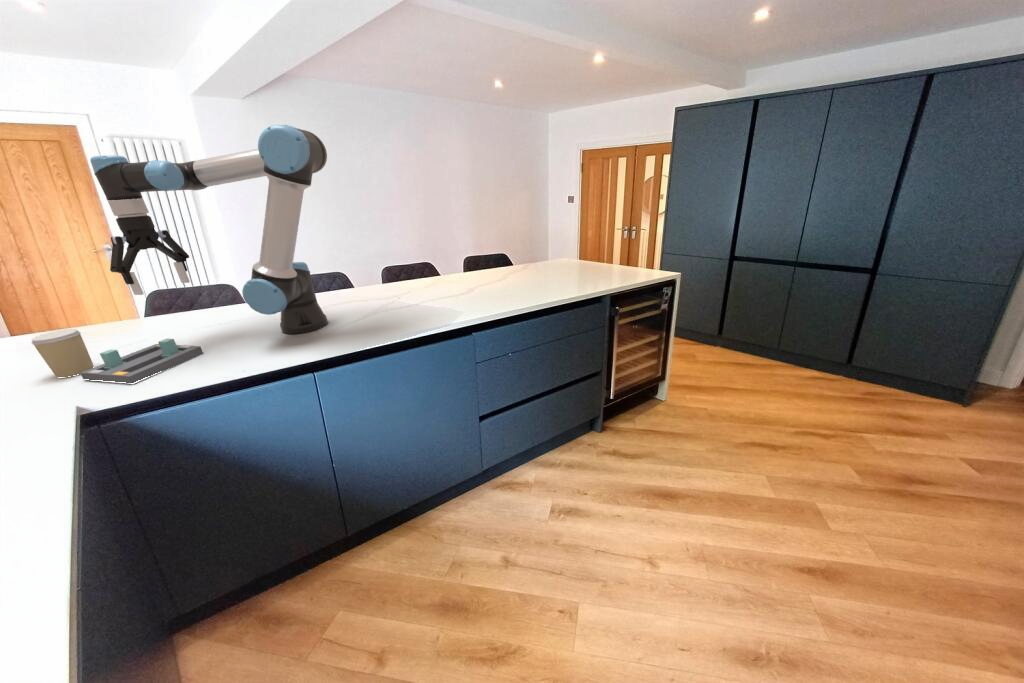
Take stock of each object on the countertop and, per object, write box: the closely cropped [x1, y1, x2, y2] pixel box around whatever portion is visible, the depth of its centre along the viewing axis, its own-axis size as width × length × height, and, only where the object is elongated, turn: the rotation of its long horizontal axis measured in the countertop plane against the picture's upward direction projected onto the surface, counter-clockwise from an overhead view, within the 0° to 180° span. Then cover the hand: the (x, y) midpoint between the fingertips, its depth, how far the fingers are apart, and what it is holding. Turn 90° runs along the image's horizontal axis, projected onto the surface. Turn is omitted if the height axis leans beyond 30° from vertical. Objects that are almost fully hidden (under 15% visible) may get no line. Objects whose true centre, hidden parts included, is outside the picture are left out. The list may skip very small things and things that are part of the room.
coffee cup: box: [31, 328, 95, 378], centre depth 111 cm, size 9×9×12 cm
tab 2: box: [157, 338, 181, 359], centre depth 116 cm, size 3×4×5 cm
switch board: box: [80, 343, 204, 383], centre depth 113 cm, size 18×20×3 cm
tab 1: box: [99, 349, 127, 371], centre depth 109 cm, size 3×4×5 cm
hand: (163, 288), depth 118 cm, fingers open, 13 cm apart
